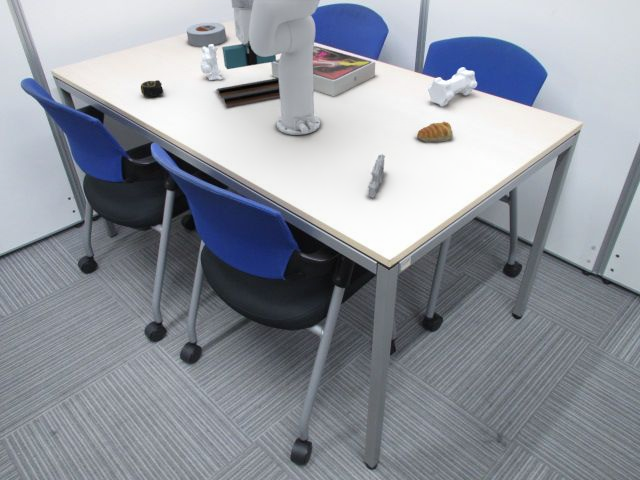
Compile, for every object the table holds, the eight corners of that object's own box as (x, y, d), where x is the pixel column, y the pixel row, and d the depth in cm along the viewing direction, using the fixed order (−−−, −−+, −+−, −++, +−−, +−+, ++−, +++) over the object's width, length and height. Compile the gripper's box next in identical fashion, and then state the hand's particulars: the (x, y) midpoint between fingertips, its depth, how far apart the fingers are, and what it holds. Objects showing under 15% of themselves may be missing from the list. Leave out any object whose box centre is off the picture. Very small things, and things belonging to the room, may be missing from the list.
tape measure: (164, 97, 174) (162, 86, 172) (143, 100, 172) (140, 89, 170) (162, 89, 179) (160, 78, 177) (141, 92, 177) (139, 81, 175)
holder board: (293, 95, 172) (292, 89, 171) (227, 108, 166) (226, 101, 165) (279, 80, 182) (279, 74, 181) (216, 91, 176) (215, 85, 175)
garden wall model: (374, 199, 124) (375, 177, 121) (367, 198, 125) (367, 176, 121) (384, 173, 133) (386, 152, 129) (377, 172, 134) (378, 151, 130)
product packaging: (314, 58, 198) (313, 45, 195) (374, 76, 183) (375, 61, 180) (272, 76, 186) (271, 61, 183) (333, 96, 171) (333, 81, 168)
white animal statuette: (228, 78, 185) (223, 43, 177) (211, 84, 181) (206, 48, 174) (216, 72, 190) (210, 38, 182) (199, 77, 186) (193, 42, 179)
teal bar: (227, 69, 165) (224, 50, 161) (224, 66, 167) (222, 46, 163) (276, 61, 170) (274, 42, 166) (273, 58, 172) (271, 39, 168)
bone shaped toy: (454, 88, 173) (458, 63, 168) (476, 96, 168) (481, 71, 163) (424, 101, 166) (427, 76, 161) (446, 110, 160) (450, 84, 155)
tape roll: (183, 46, 213) (180, 33, 210) (196, 34, 225) (194, 21, 221) (219, 47, 211) (218, 34, 207) (231, 35, 222) (229, 22, 219)
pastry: (423, 145, 144) (424, 133, 141) (412, 135, 149) (413, 122, 146) (454, 140, 146) (456, 127, 143) (442, 129, 151) (443, 117, 149)
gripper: (224, -5, 161) (232, 55, 173) (239, 10, 150) (246, 73, 161) (248, -8, 164) (254, 52, 175) (264, 7, 152) (269, 70, 163)
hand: (250, 62), depth 168 cm, fingers closed on teal bar, 3 cm apart
